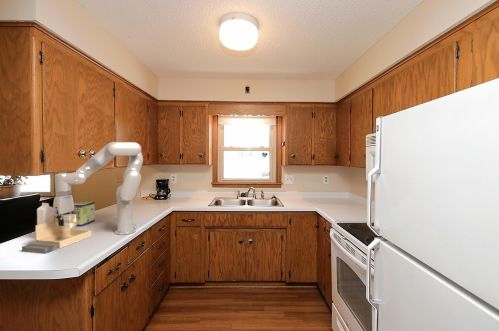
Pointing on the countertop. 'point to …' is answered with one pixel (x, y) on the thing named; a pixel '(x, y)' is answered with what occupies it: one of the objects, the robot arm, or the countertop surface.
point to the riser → (39, 248)
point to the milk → (44, 214)
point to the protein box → (84, 213)
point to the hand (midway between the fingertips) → (65, 224)
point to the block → (67, 221)
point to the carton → (59, 235)
